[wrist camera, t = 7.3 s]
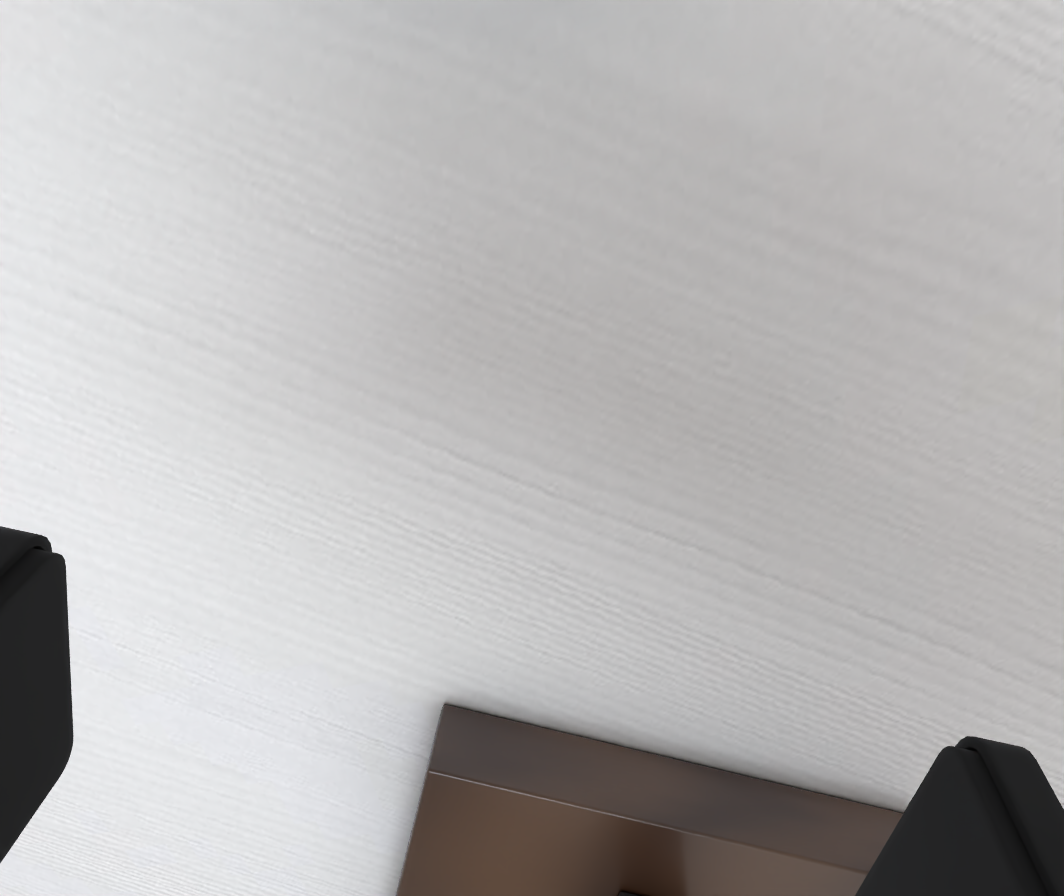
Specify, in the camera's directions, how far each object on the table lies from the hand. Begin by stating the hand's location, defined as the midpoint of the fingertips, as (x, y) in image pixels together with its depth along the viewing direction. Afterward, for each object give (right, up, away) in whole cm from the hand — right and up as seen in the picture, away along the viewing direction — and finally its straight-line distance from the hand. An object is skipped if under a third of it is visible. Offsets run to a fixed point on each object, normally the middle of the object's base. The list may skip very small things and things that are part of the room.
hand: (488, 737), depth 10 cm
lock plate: (+3, -11, +19) cm, 22 cm away
